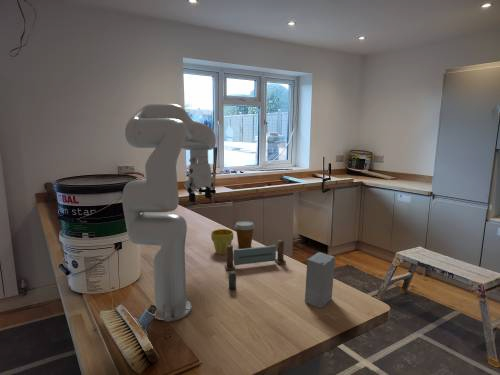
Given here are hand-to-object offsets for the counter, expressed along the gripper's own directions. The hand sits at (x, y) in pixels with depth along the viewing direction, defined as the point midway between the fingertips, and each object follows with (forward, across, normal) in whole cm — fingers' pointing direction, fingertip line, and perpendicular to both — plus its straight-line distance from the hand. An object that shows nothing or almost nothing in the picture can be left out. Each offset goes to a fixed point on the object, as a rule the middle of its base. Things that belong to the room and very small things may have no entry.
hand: (200, 200), depth 141 cm
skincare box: (+27, -4, -58) cm, 64 cm away
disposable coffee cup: (+27, +24, -6) cm, 37 cm away
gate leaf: (+25, +7, -24) cm, 36 cm away
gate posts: (+27, +2, -30) cm, 40 cm away
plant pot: (+27, +12, -2) cm, 30 cm away
